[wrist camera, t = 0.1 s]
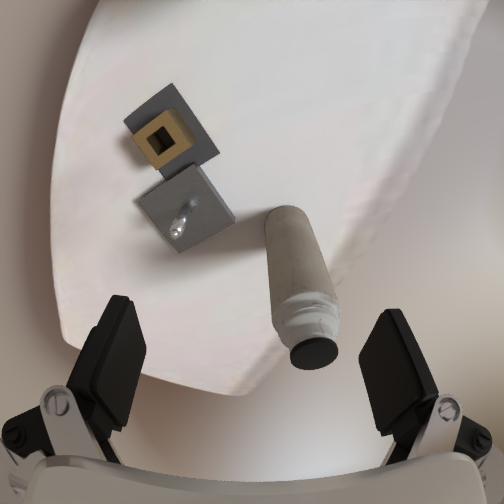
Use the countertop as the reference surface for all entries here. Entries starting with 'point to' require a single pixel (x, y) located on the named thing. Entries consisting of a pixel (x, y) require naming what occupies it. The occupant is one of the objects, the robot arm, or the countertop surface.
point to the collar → (155, 146)
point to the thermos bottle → (300, 290)
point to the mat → (152, 109)
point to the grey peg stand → (187, 208)
